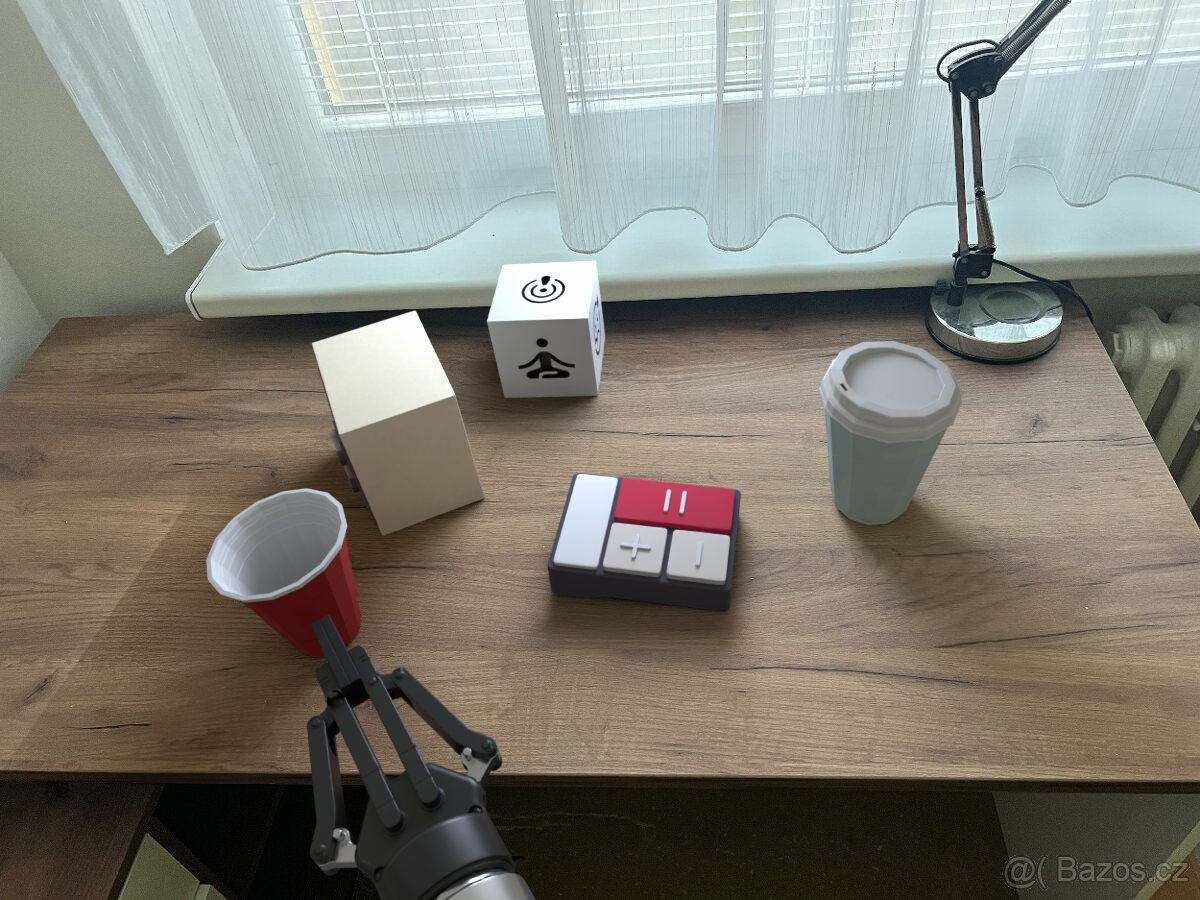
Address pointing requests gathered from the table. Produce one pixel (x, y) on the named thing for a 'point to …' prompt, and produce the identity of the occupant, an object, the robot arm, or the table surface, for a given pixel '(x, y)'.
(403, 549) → the table surface
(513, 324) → the icon cube
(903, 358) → the disposable coffee cup
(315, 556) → the plastic cup
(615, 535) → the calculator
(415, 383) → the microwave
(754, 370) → the table surface
